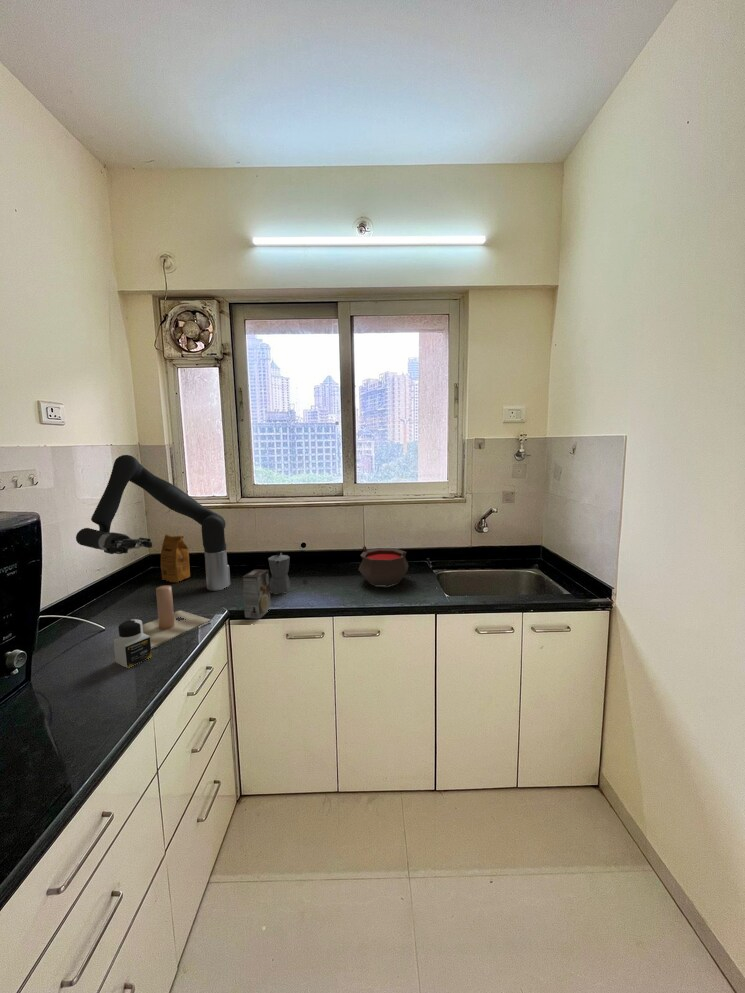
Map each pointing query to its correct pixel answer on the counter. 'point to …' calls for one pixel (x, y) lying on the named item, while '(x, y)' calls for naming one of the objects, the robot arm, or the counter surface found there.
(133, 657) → the medicine bottle
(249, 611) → the coffee box
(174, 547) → the coffee package
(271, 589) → the coffeepot
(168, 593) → the terracotta canister
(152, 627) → the ash board
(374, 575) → the brown cooking pot
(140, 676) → the counter surface
